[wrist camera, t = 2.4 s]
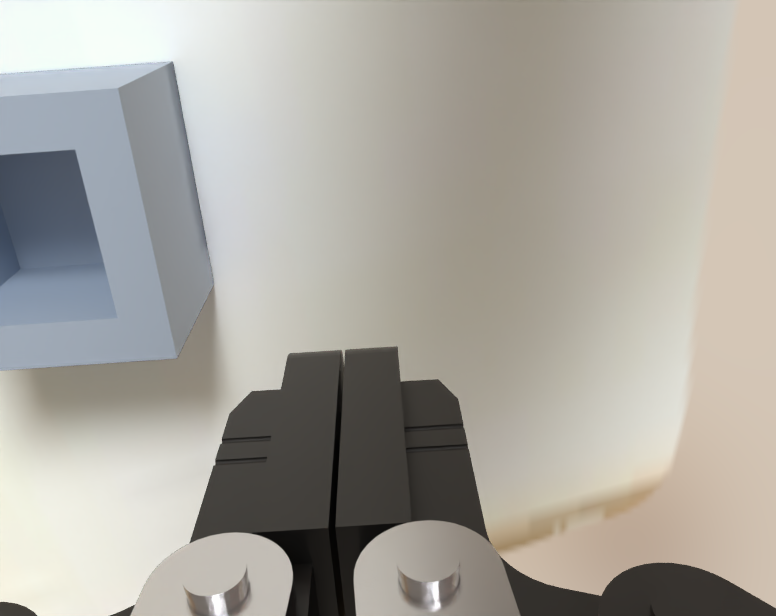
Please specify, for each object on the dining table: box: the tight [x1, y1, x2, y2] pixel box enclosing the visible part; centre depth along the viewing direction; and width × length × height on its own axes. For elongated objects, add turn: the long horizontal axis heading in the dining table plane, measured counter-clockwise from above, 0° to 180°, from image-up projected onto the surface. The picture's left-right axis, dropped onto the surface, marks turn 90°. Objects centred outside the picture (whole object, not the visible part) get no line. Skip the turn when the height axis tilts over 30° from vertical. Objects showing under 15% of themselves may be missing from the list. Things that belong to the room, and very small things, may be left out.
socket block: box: [0, 62, 214, 371], centre depth 20 cm, size 7×7×5 cm
